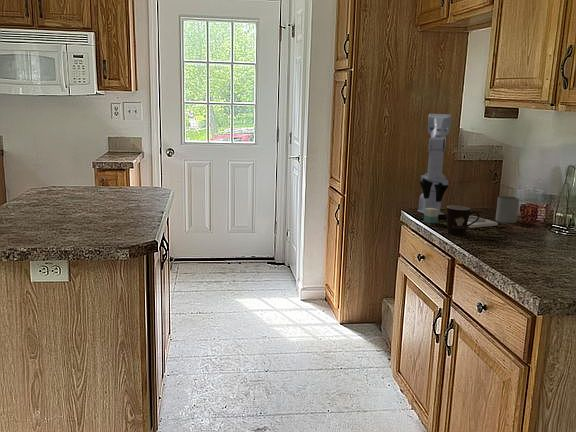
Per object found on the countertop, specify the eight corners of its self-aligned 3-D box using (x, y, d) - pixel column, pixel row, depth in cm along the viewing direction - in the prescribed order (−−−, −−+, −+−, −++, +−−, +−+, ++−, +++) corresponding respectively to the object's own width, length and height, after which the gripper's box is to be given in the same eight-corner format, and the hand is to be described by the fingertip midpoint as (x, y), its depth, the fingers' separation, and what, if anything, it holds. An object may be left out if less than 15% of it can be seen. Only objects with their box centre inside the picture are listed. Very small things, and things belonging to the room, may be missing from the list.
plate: (447, 220, 237) (447, 215, 237) (472, 218, 243) (473, 213, 243) (471, 227, 225) (471, 222, 224) (497, 225, 231) (497, 220, 230)
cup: (517, 223, 236) (520, 200, 234) (497, 222, 237) (499, 198, 235) (514, 219, 244) (516, 196, 242) (494, 218, 246) (496, 195, 244)
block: (423, 221, 234) (424, 208, 233) (431, 220, 236) (432, 207, 235) (429, 223, 231) (430, 210, 230) (437, 222, 232) (438, 209, 231)
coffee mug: (442, 234, 212) (444, 208, 210) (447, 229, 220) (449, 204, 218) (474, 238, 207) (476, 211, 205) (478, 234, 215) (480, 208, 213)
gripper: (416, 165, 233) (413, 197, 236) (439, 169, 221) (436, 203, 223) (429, 164, 236) (426, 196, 239) (453, 169, 224) (450, 202, 226)
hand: (432, 200), depth 231 cm, fingers open, 7 cm apart
